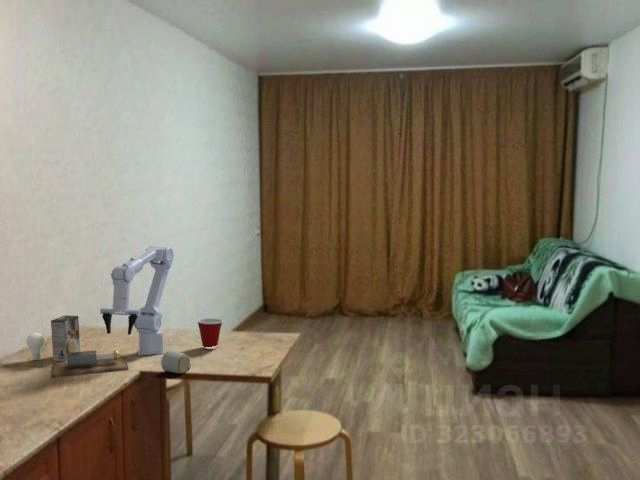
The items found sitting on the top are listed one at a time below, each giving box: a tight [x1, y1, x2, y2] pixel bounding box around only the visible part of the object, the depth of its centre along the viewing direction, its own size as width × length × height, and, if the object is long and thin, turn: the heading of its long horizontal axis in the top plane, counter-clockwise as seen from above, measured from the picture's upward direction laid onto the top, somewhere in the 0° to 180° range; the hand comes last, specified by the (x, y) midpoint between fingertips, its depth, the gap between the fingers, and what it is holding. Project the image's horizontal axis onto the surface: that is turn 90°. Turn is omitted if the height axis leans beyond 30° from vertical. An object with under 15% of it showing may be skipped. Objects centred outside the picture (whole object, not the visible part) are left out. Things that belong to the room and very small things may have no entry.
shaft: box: [96, 350, 120, 360], centre depth 234 cm, size 16×4×4 cm, turn 110°
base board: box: [52, 356, 129, 378], centre depth 234 cm, size 26×14×1 cm, turn 110°
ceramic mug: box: [160, 350, 192, 374], centre depth 230 cm, size 11×8×8 cm
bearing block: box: [66, 350, 97, 370], centre depth 232 cm, size 10×6×5 cm, turn 110°
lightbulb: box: [25, 332, 45, 361], centre depth 242 cm, size 6×6×11 cm
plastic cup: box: [196, 318, 224, 347], centre depth 260 cm, size 11×11×12 cm
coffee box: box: [50, 315, 81, 362], centre depth 246 cm, size 9×6×16 cm
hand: (119, 334), depth 235 cm, fingers open, 7 cm apart
